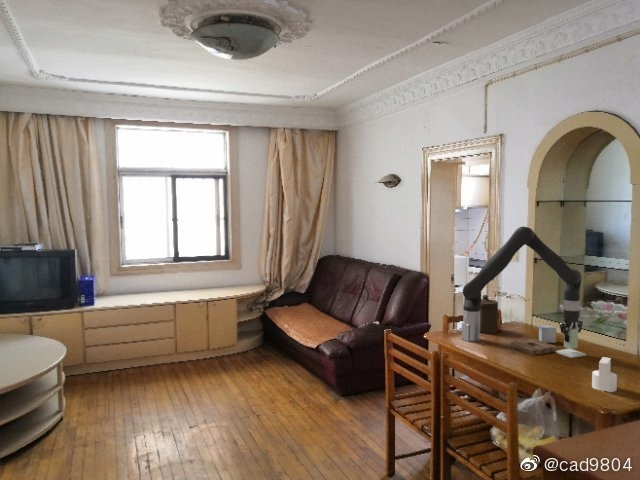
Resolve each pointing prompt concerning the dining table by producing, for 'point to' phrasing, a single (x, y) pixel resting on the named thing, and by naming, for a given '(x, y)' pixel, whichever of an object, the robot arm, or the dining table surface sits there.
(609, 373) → the cylinder with rectangular tab
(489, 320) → the wooden container
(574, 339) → the green block
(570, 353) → the tile
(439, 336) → the dining table surface
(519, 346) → the pocket board
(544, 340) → the medicine box
